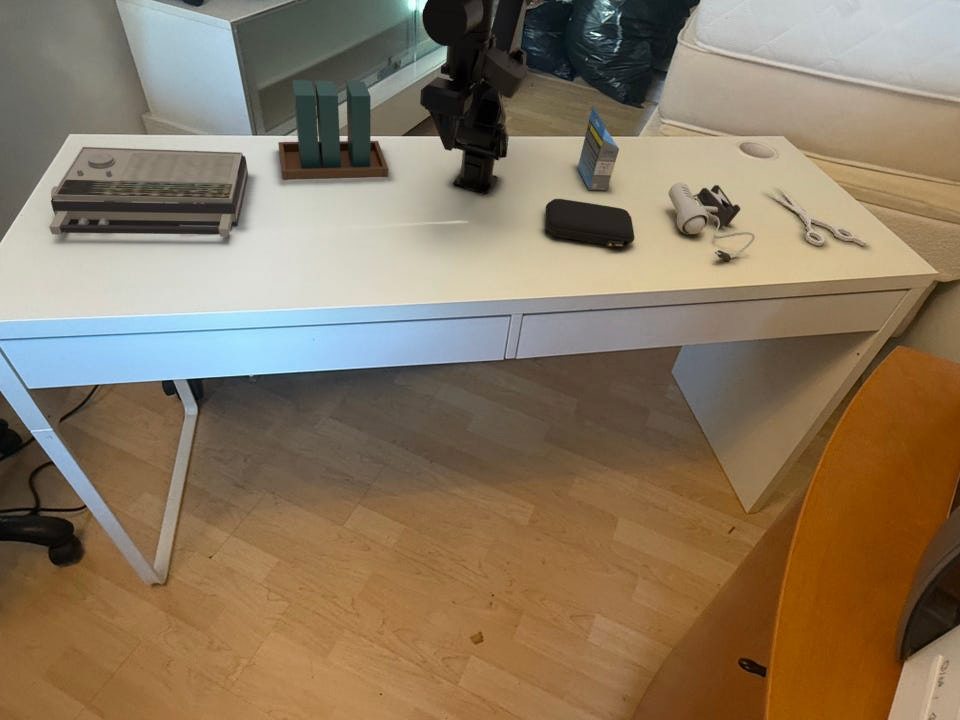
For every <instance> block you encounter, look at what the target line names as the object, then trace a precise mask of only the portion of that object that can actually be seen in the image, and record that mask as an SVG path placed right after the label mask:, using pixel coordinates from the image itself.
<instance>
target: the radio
mask: <svg viewBox="0 0 960 720" xmlns="http://www.w3.org/2000/svg"><path fill="white" fill-rule="evenodd" d="M73 159H74V160H73V161H72V163H71V164H70V165H69V167H68V169H67V170H66V172H65V173H64V175H63V177H62V178H61V179H60V181H59V183H58V185H57V186H52V188H51V191H50V198H51V199H50V204H51V207H52V212H53V214H54V217H53V219H52V221H51V223H50V224H49V226H48V228H49V231H50V233H51V234H52V235H63V234H129V235H132V234H133V235H135V234H139V235H140V234H141V235H142V234H143V235H147V234H148V235H160V234H161V235H219V236H220V237H229V236H230V234H231V228H232V226H233V227H238V225H239V221H240V216H241V212H242V211H241V210H242V207H243V201H244V198H245V193H246V187H247V181H248V177H249V171H248V164H247V159H246V155H243V152H241V151H240V152H239V151H238V152H237V151H213V150H212V151H210V150H184V149H183V150H181V149H159V148H158V149H155V148H129V147H128V148H126V147H97V146H82V147H81V148H80V150H79V151H78V153H77V154H76V156H75V158H73Z"/></svg>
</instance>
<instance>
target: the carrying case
mask: <svg viewBox="0 0 960 720" xmlns="http://www.w3.org/2000/svg"><path fill="white" fill-rule="evenodd" d="M544 214H545V215H544V217H545V218H544V227H545V229H546V230H547V231H548V233H549V234H550V235H551V236H552V237H556V238H562V239H566V240H567V239H568V240H574V241H579V242H586V243H592V244H599V245H605V246H606V247H608V248H613V247H618V248H619V247H620V248H621V247H627V246H629V245H631V244H632V243H633V242H634V241H635V232H634V225H633V219H632V216H631V215H630V213H629V212H628V211H627V210H626V209H625V208H621V207H620V208H619V207H615V206H609V205H603V204H598V203H590V202H584V201H578V200H572V199H565V198H553V199H552V200H550V201H549V202H547V203H546V205H545V213H544Z"/></svg>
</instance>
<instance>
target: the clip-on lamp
mask: <svg viewBox="0 0 960 720" xmlns="http://www.w3.org/2000/svg"><path fill="white" fill-rule="evenodd" d="M668 197H669V199H670V201H671V203H672V206H673V207H674V211H675V212H676V214H677V216H676V225H677V227H678V229H679V231H680V232H681V233H683V234H685V235H696V234H699V233H701V232H702V231H703V230H704V228H705V227H706V226H707V225H708V223H709V218H710V219H715V220H716V221H715V222H714V226H716V229H715V231H714V233H713V238H714V239H726V238H730V237H736V236H742V235H750V236H751V239H750V241H748V243H747V244H746V245H745V246H744V247H742V248H741V249H739V250H738V251H737V252H735V253H733V254H732V255H730V254H729V253H727V252H725V251H722V250H720V249H719V250H717V251H714V254H715V255H717V256H718V258H719V259H721V260H725V261H727V262H728V261H730V260H731V259H734V258H735V257H737V256H738V255H741V253H743V252H744V251H745V250H746V249H747V248H748V247H750V246H751V244H752V243H753V242H754V240H755V238H756V235H755V233H753V232H751V231H740V232H733V233H727V234H721V235H720V234H719V235H717V233H718V231H719V229H721V228H722V227H723V226H725V227H726V226H729V225H730V223H731V222H732V221H733V220H734V218H735V217H736V216H737V215H738V214H739V212H740V211H741V207H740V205H738V204H734V205H733V204H732V202H731V200H730V199H729V198H728V196H727V195H726V194H725V192H724V191H723V189H722V188H721V186H720V185H718V184H714V185H713V187H711V189H708V188H707V187H703V188H701V189H700V191H699V192H698V193H695V194H692V191H691V190H690V188H689V186H688V184H686V183H685V182H677V183H675V184H673V185H672V186H671V187H670V188H669V190H668Z"/></svg>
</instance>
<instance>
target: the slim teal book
mask: <svg viewBox="0 0 960 720" xmlns="http://www.w3.org/2000/svg"><path fill="white" fill-rule="evenodd" d="M345 87H346V89H345V90H346V93H345V94H346V120H347V121H346V125H347V128H346V130H347V141H348V156H349V159H350V162H351V165H352V167H370V141H371V94H370V92H369V89H368V87H367V85H366V82H365V81H361V80H360V81H357V80H355V81H354V80H353V81H352V80H351V81H349V80H348V81H347V80H346V82H345Z"/></svg>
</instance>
